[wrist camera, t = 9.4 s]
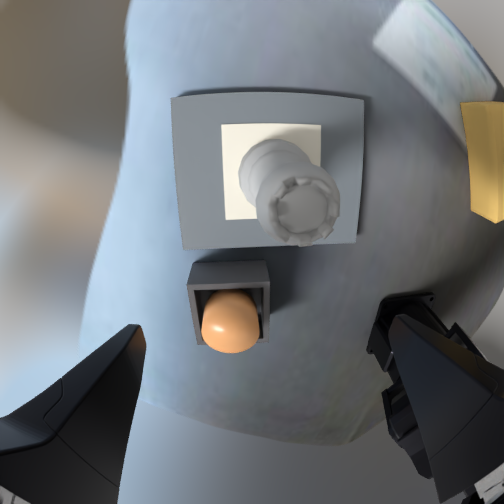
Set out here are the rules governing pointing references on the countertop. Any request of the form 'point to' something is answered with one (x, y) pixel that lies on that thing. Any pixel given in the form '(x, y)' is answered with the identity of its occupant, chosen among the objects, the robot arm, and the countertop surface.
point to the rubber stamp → (485, 156)
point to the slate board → (238, 144)
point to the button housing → (230, 277)
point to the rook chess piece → (289, 192)
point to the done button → (230, 321)
